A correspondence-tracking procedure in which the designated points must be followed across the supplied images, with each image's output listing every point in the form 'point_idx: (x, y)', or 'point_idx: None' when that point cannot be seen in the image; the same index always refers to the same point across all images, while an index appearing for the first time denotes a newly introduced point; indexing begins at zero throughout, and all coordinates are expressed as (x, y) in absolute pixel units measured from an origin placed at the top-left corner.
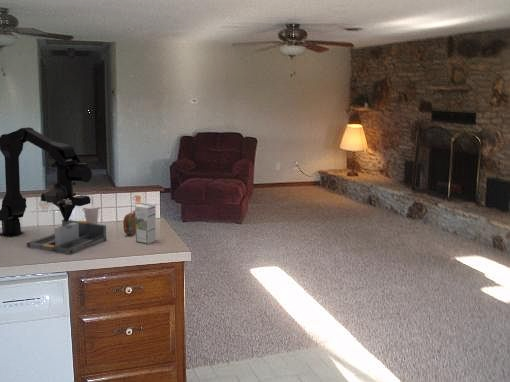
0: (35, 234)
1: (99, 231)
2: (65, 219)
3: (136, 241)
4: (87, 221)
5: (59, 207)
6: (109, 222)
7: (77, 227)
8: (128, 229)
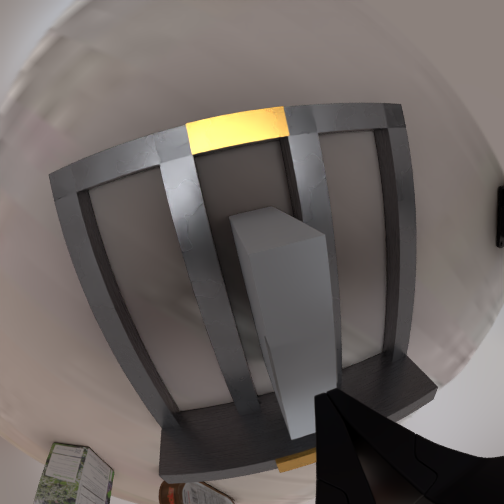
0: (470, 267)
1: (184, 447)
2: (328, 406)
3: (86, 447)
4: None
5: (470, 474)
6: None
7: (282, 412)
8: (161, 489)
